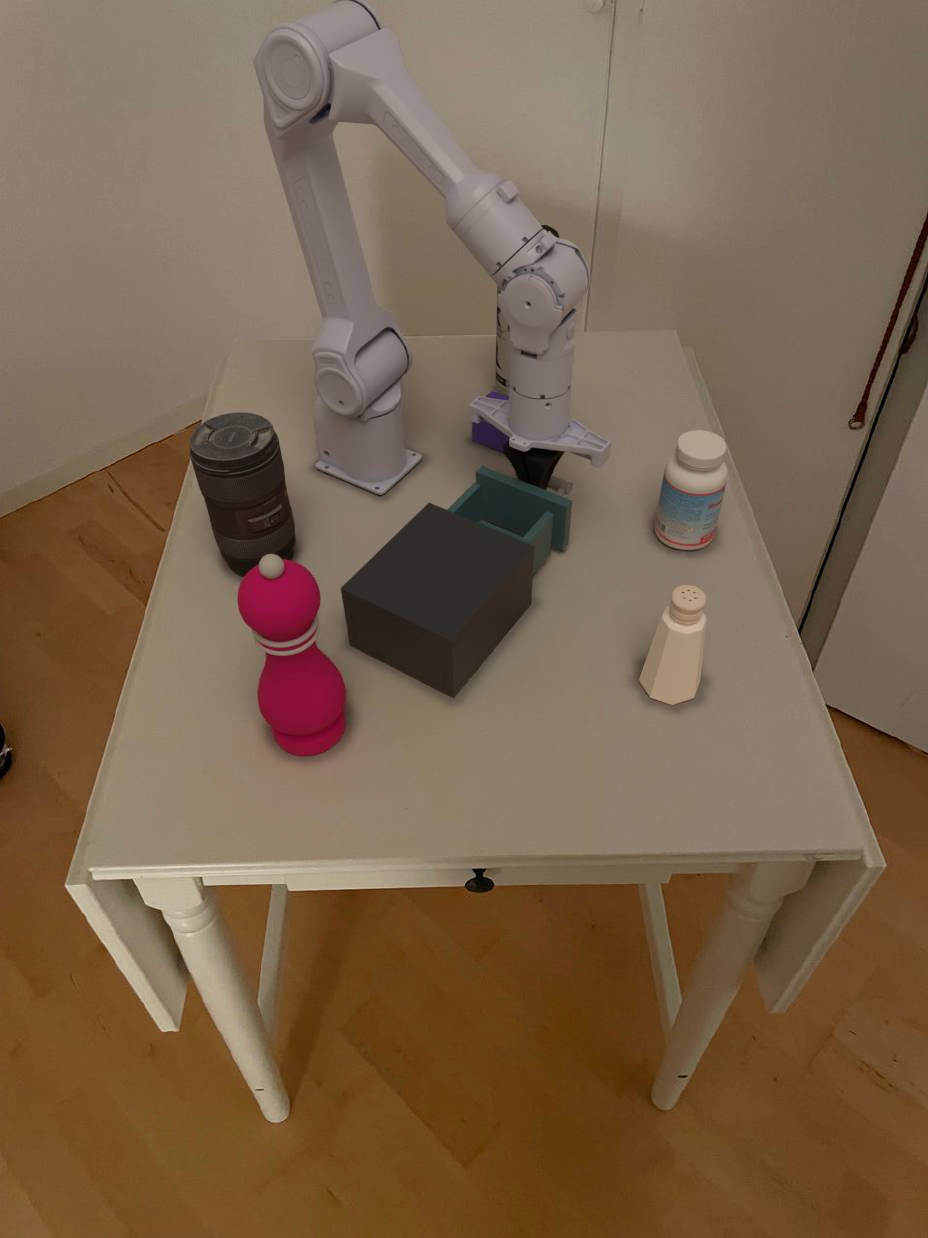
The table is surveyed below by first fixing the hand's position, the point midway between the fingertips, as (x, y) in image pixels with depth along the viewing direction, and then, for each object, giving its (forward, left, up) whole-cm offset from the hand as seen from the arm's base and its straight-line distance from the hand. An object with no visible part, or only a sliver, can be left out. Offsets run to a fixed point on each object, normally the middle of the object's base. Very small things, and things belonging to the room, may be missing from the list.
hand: (534, 497), depth 94 cm
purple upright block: (-11, +11, -3) cm, 16 cm away
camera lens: (-21, -19, -4) cm, 29 cm away
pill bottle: (+14, +7, -4) cm, 16 cm away
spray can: (-13, +20, -4) cm, 24 cm away
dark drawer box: (0, -17, -3) cm, 17 cm away
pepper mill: (-3, -33, -4) cm, 33 cm away
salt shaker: (+21, -12, -4) cm, 25 cm away
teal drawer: (0, -6, -3) cm, 6 cm away
